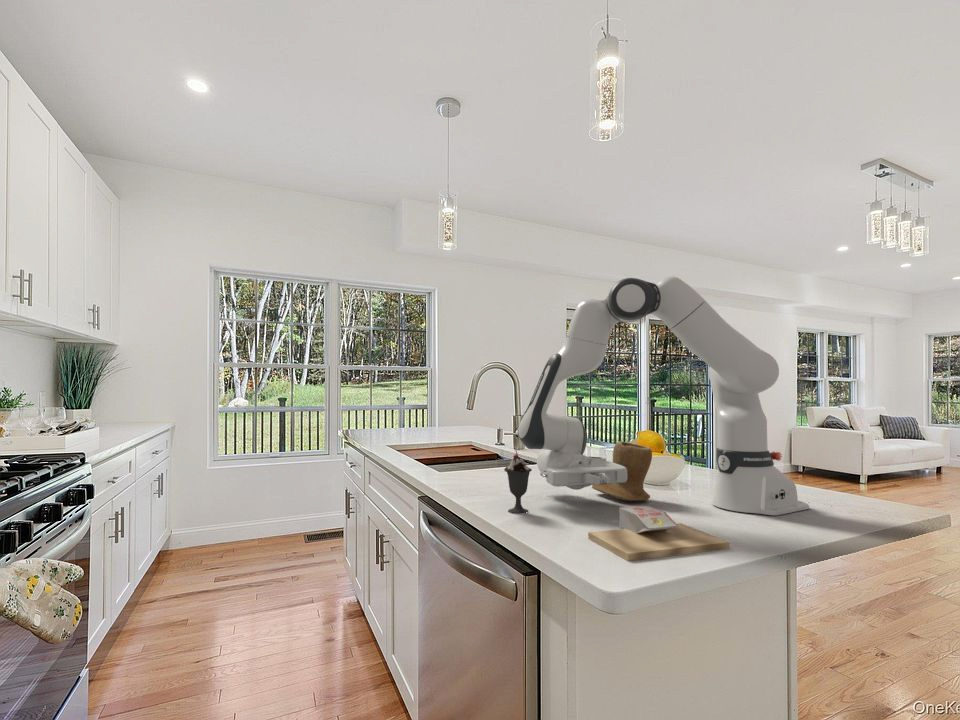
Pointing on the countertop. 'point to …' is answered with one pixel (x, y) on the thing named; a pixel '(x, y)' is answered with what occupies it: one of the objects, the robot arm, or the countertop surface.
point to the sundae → (518, 481)
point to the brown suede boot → (629, 472)
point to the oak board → (657, 542)
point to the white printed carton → (645, 519)
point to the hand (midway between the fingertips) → (603, 480)
